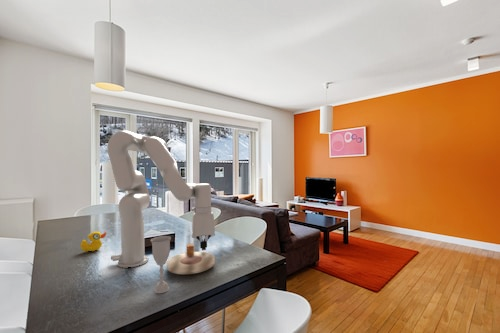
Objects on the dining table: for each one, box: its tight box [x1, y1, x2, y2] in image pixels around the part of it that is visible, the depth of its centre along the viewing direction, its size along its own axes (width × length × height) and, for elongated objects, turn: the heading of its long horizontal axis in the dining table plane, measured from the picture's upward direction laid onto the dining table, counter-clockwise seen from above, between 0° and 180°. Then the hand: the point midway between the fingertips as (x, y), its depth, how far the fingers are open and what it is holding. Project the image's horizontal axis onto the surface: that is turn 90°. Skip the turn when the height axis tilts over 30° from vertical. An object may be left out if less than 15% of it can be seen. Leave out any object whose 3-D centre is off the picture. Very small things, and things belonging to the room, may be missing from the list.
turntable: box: [166, 242, 216, 275], centre depth 103 cm, size 20×20×6 cm
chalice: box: [150, 235, 172, 294], centre depth 85 cm, size 7×7×18 cm
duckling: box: [80, 231, 107, 253], centre depth 126 cm, size 11×5×10 cm, turn 126°
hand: (203, 249), depth 112 cm, fingers closed
